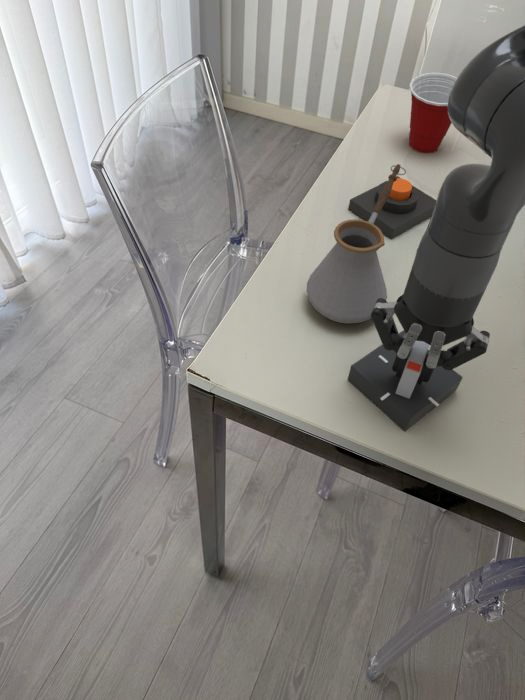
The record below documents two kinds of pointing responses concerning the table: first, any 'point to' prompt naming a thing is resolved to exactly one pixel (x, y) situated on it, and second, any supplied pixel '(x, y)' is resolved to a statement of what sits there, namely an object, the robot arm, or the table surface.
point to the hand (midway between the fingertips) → (409, 375)
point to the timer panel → (382, 384)
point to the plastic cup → (429, 110)
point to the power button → (400, 190)
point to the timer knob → (412, 369)
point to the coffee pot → (352, 268)
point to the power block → (393, 210)
